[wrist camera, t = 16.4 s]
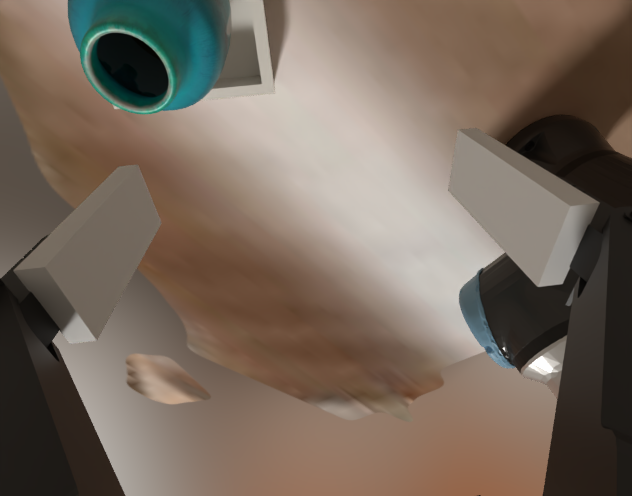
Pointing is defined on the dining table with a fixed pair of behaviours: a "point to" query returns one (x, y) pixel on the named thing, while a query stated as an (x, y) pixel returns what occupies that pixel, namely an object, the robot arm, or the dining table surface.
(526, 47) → the dining table surface
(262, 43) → the pusher lane
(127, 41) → the vase
